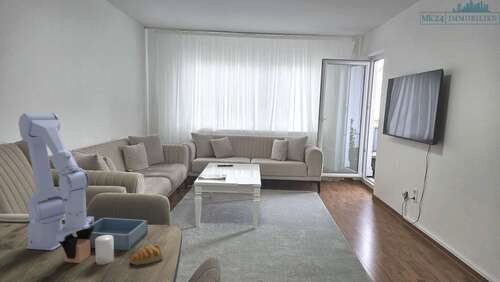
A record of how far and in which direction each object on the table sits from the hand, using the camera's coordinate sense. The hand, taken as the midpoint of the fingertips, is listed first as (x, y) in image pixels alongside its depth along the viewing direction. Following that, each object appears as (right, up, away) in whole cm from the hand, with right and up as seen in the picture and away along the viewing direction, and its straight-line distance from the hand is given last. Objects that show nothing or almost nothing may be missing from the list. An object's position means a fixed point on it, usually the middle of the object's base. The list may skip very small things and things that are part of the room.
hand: (77, 253), depth 93 cm
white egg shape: (+9, -2, -1) cm, 9 cm away
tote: (+6, 0, +14) cm, 15 cm away
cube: (0, -1, 0) cm, 1 cm away
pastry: (+22, -2, 0) cm, 22 cm away
